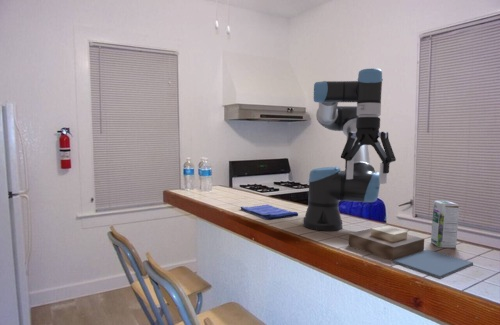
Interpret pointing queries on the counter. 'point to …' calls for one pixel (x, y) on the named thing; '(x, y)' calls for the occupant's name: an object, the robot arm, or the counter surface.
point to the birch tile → (389, 233)
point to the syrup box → (445, 224)
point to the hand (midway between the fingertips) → (365, 181)
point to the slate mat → (433, 263)
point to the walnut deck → (385, 245)
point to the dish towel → (269, 212)
